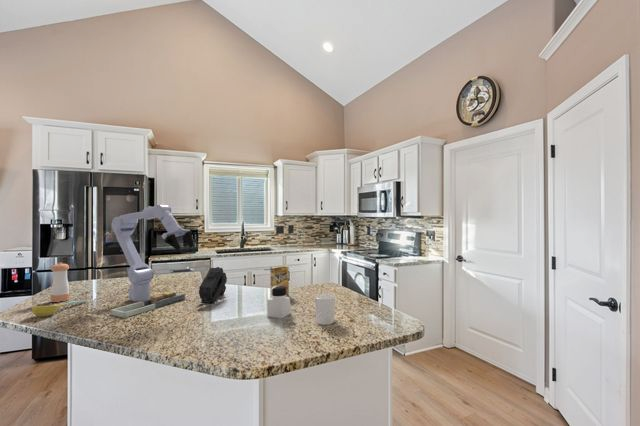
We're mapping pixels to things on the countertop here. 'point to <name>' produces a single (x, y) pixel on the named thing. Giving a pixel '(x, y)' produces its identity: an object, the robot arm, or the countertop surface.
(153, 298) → the copper block
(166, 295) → the brass block
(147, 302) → the rail
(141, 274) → the robot arm
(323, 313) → the white cup
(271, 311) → the medicine bottle
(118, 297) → the countertop surface
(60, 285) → the pepper shaker
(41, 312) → the ladle
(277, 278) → the candy box
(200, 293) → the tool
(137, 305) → the tray
